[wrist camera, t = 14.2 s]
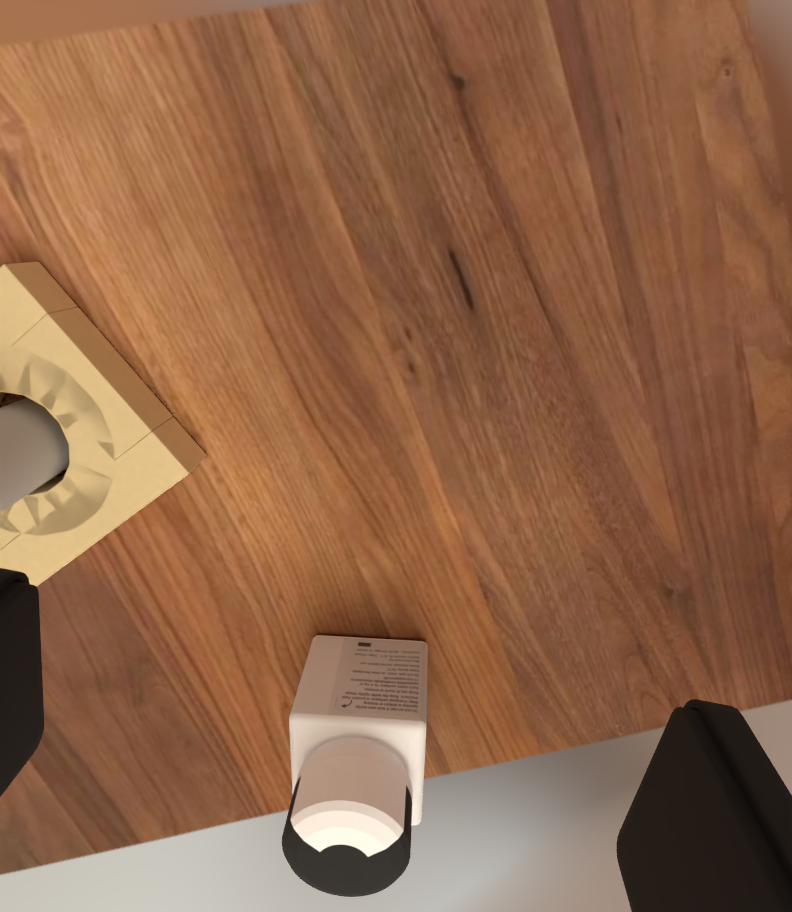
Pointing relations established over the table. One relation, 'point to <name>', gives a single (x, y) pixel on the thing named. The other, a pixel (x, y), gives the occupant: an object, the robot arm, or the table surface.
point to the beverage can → (28, 449)
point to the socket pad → (79, 426)
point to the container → (356, 762)
